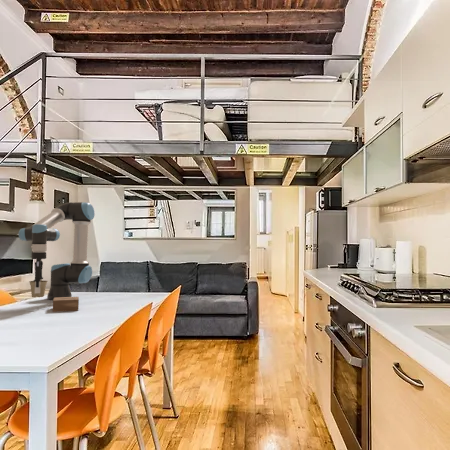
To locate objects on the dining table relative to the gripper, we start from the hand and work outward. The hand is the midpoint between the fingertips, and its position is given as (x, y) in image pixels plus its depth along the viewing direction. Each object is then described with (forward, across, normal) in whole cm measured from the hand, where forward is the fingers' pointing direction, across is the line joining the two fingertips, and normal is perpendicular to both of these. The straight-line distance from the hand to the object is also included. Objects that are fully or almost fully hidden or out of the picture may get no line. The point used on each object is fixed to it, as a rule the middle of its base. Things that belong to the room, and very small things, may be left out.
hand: (38, 292), depth 222 cm
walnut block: (+10, +4, +15) cm, 18 cm away
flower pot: (+3, 0, 0) cm, 3 cm away
